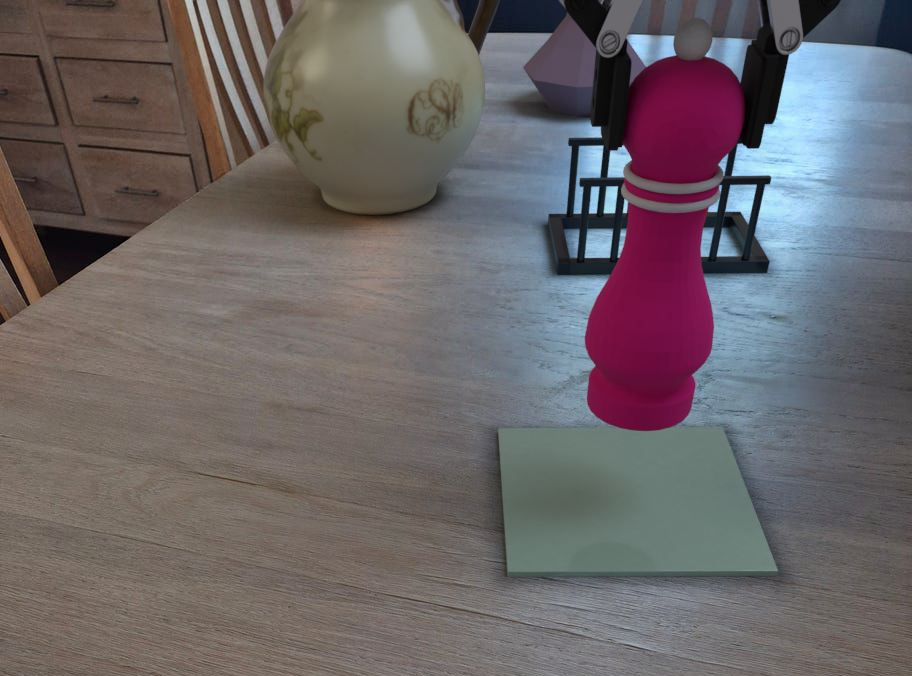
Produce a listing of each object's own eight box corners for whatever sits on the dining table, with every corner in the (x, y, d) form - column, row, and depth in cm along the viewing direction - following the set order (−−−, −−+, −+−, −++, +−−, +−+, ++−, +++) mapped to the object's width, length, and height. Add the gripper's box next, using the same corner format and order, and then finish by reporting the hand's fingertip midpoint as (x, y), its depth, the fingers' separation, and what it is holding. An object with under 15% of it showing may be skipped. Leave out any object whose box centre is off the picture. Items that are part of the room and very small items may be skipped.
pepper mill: (565, 424, 56) (601, 31, 42) (593, 367, 61) (634, -2, 47) (688, 446, 54) (768, 42, 40) (707, 385, 59) (784, 6, 45)
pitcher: (243, 223, 98) (198, -78, 81) (322, 151, 114) (299, -113, 97) (453, 243, 93) (453, -72, 76) (504, 165, 110) (514, -110, 92)
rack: (738, 223, 96) (756, 134, 90) (766, 274, 87) (789, 178, 81) (547, 225, 96) (553, 136, 91) (557, 276, 88) (564, 181, 82)
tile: (721, 432, 68) (722, 426, 68) (776, 577, 57) (778, 570, 56) (497, 434, 68) (498, 427, 68) (507, 578, 57) (507, 571, 57)
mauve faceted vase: (593, 83, 134) (609, -96, 120) (672, 111, 123) (699, -81, 110) (496, 102, 128) (501, -84, 114) (570, 133, 117) (585, -66, 104)
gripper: (527, -393, 32) (507, 169, 45) (1041, -407, 32) (876, 164, 44) (516, -377, 38) (501, 121, 50) (956, -389, 37) (830, 116, 50)
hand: (678, 137), depth 47 cm, fingers closed on pepper mill, 6 cm apart
